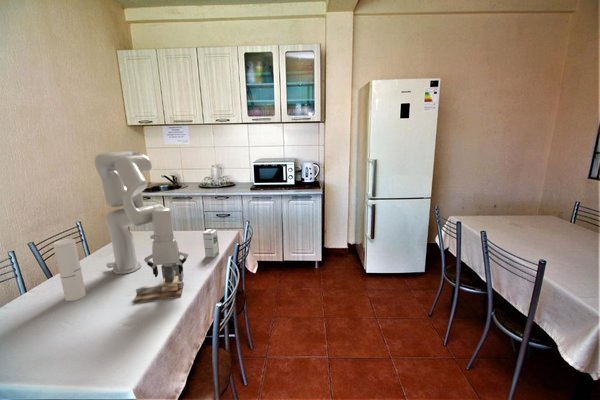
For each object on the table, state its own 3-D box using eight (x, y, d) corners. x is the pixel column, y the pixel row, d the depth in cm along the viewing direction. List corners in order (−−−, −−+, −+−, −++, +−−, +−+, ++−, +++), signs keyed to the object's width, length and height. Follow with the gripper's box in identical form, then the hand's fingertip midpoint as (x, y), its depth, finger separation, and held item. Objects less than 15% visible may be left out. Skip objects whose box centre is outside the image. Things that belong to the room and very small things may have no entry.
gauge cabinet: (163, 284, 135) (161, 266, 133) (165, 278, 141) (163, 261, 139) (182, 282, 137) (180, 264, 135) (183, 276, 143) (181, 258, 141)
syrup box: (214, 257, 164) (212, 232, 160) (204, 256, 165) (202, 232, 162) (219, 253, 169) (217, 229, 166) (209, 252, 170) (207, 228, 167)
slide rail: (134, 303, 121) (133, 294, 120) (140, 290, 130) (139, 282, 129) (181, 296, 125) (180, 287, 125) (183, 284, 135) (182, 276, 134)
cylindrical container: (89, 293, 129) (79, 239, 123) (73, 302, 122) (60, 246, 116) (78, 290, 131) (67, 238, 125) (61, 299, 125) (48, 244, 119)
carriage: (162, 292, 125) (159, 270, 123) (164, 285, 131) (161, 264, 128) (177, 290, 127) (174, 268, 124) (179, 283, 132) (176, 262, 130)
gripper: (139, 242, 118) (144, 281, 122) (185, 238, 122) (189, 275, 126) (143, 235, 125) (148, 272, 129) (187, 232, 129) (190, 267, 133)
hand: (168, 274), depth 127 cm, fingers open, 9 cm apart
